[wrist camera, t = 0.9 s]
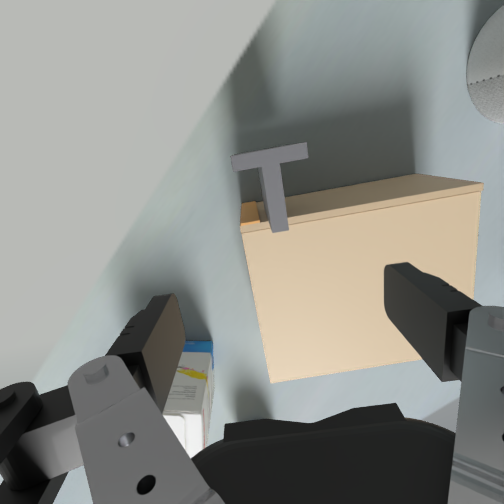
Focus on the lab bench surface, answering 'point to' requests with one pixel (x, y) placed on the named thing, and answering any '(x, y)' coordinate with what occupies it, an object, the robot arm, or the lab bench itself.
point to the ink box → (192, 396)
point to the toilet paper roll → (488, 69)
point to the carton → (352, 282)
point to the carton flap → (329, 192)
